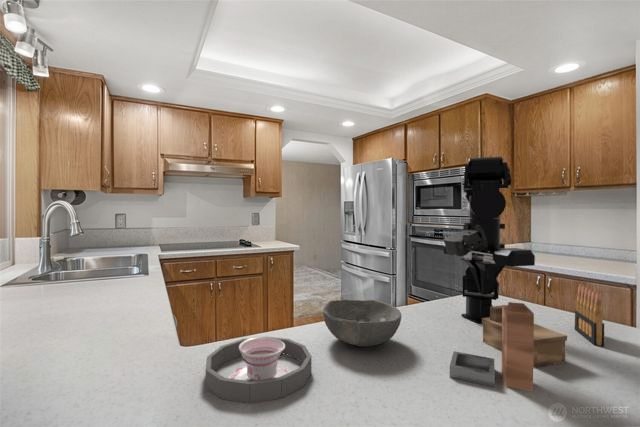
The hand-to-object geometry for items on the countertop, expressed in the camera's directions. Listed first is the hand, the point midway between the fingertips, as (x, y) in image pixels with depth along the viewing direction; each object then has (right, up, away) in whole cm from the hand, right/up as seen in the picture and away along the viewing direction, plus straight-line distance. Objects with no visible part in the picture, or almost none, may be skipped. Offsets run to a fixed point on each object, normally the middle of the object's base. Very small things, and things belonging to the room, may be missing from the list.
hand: (483, 294), depth 68 cm
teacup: (-44, -13, -9) cm, 47 cm away
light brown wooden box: (+10, -13, +3) cm, 16 cm away
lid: (+10, -9, +3) cm, 13 cm away
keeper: (-5, -13, -7) cm, 16 cm away
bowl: (-24, -13, +8) cm, 28 cm away
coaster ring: (-45, -13, -7) cm, 47 cm away
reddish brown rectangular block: (+1, -13, -10) cm, 17 cm away
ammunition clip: (+31, -13, +11) cm, 35 cm away
